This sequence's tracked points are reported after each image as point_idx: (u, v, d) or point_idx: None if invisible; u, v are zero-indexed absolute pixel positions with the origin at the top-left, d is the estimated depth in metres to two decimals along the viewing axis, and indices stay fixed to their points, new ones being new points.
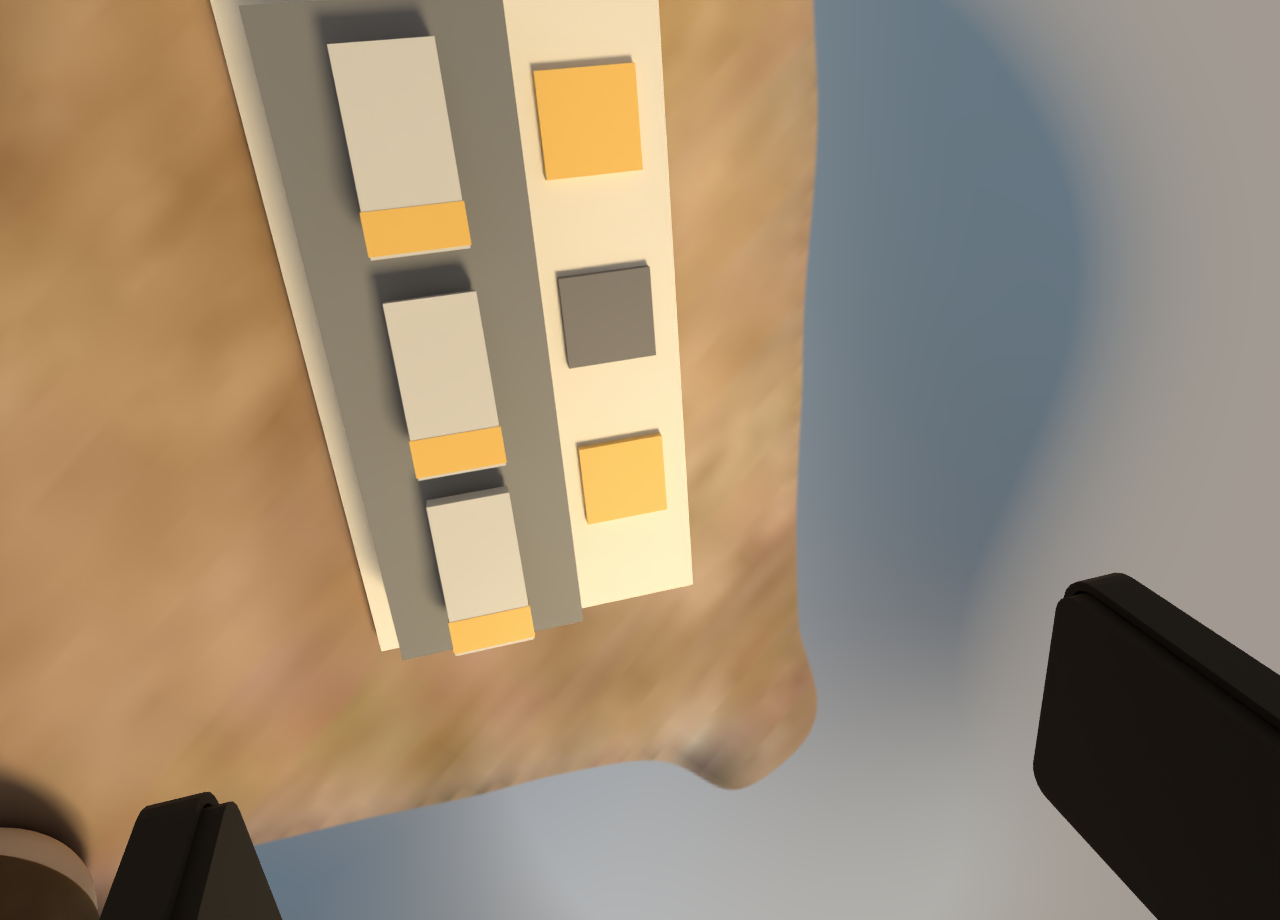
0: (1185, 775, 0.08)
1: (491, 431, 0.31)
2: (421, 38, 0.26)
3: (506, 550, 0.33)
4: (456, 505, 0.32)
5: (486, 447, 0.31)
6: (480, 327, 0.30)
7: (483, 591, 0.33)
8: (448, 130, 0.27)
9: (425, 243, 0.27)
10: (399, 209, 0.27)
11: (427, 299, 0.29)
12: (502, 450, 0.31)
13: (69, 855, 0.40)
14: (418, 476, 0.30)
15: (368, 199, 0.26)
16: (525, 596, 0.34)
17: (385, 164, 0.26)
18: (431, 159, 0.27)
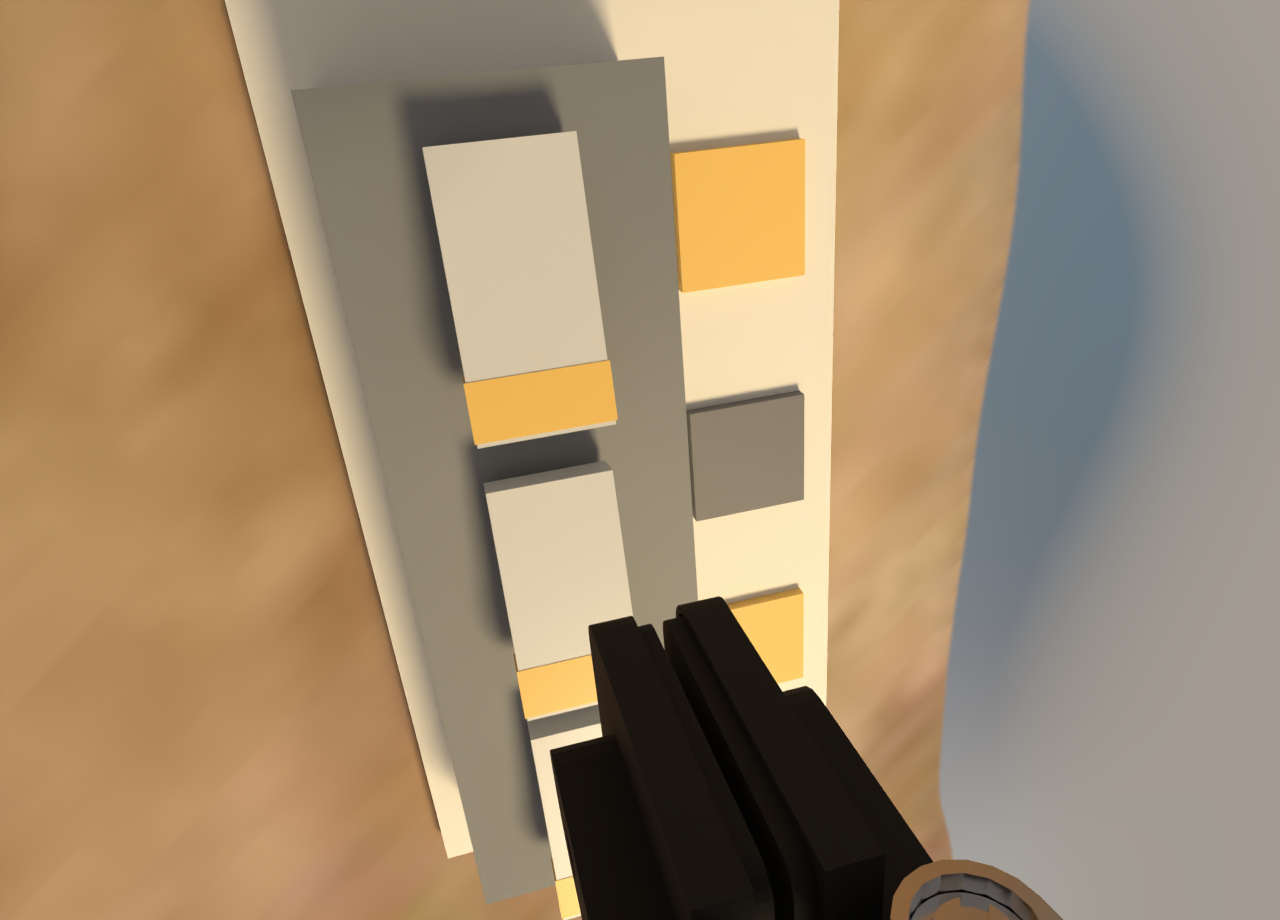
0: None
1: None
2: (558, 135, 0.18)
3: None
4: (570, 734, 0.24)
5: None
6: (616, 517, 0.21)
7: None
8: (591, 263, 0.18)
9: (554, 421, 0.19)
10: (519, 376, 0.19)
11: (546, 484, 0.21)
12: None
13: None
14: (528, 716, 0.22)
15: (476, 364, 0.18)
16: None
17: (501, 315, 0.18)
18: (566, 305, 0.18)
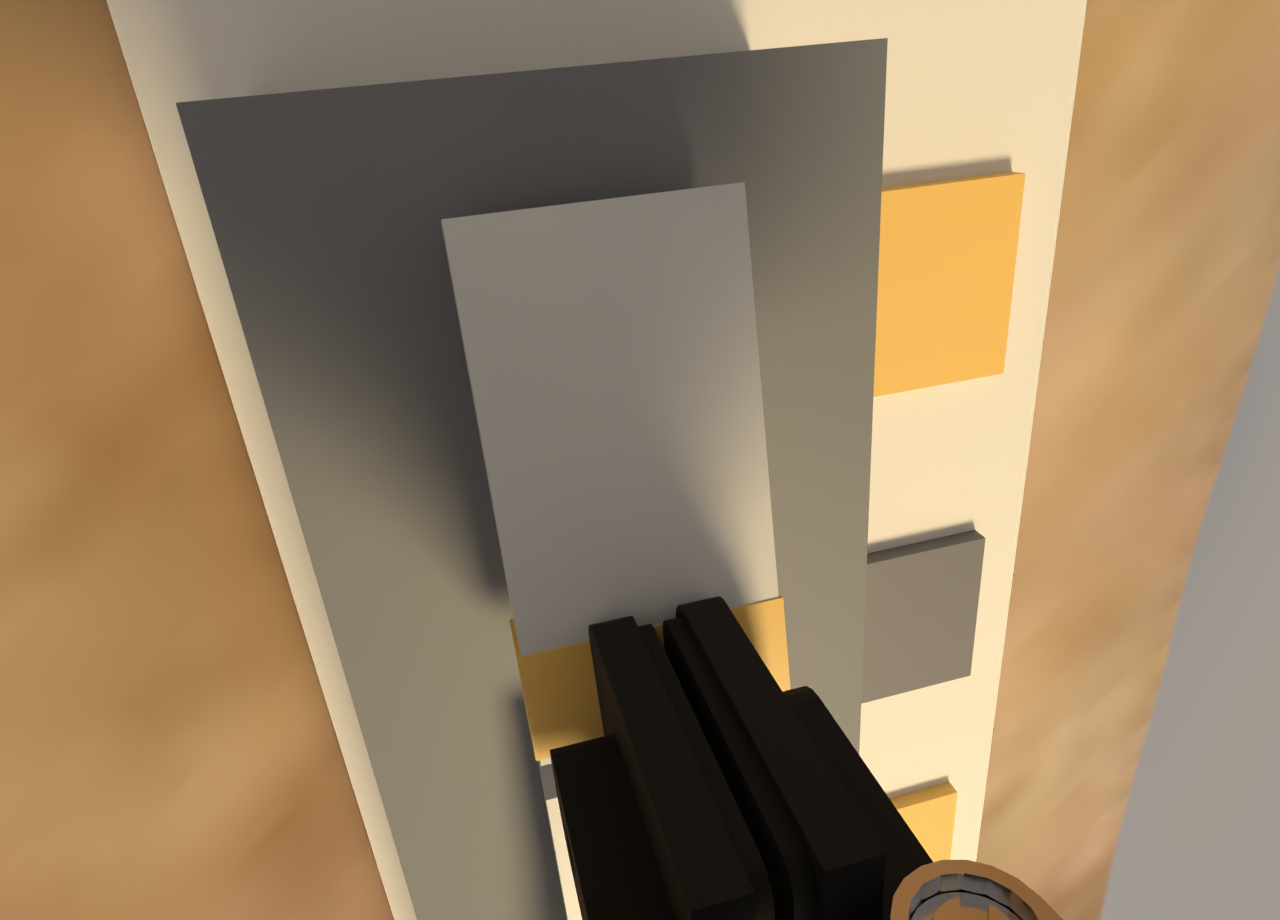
0: None
1: None
2: (710, 190, 0.09)
3: None
4: None
5: None
6: None
7: None
8: (760, 430, 0.10)
9: None
10: None
11: None
12: None
13: None
14: None
15: (541, 622, 0.10)
16: None
17: (589, 532, 0.09)
18: (710, 506, 0.10)
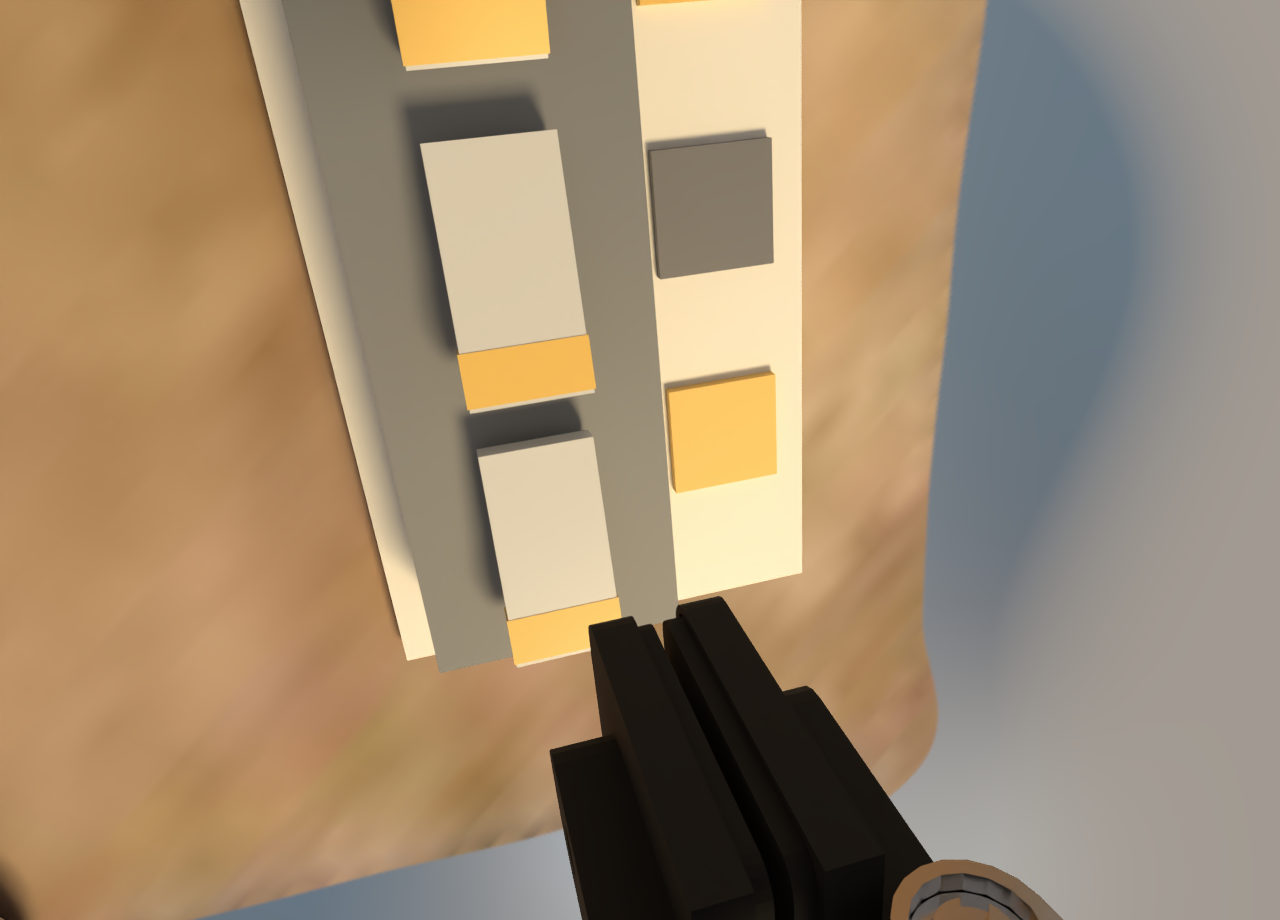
0: None
1: (575, 342, 0.21)
2: None
3: (588, 519, 0.24)
4: (520, 453, 0.23)
5: (568, 365, 0.21)
6: (562, 184, 0.20)
7: (555, 577, 0.24)
8: None
9: (485, 48, 0.19)
10: None
11: (486, 139, 0.20)
12: (590, 370, 0.21)
13: None
14: (470, 407, 0.21)
15: None
16: (612, 584, 0.24)
17: None
18: None
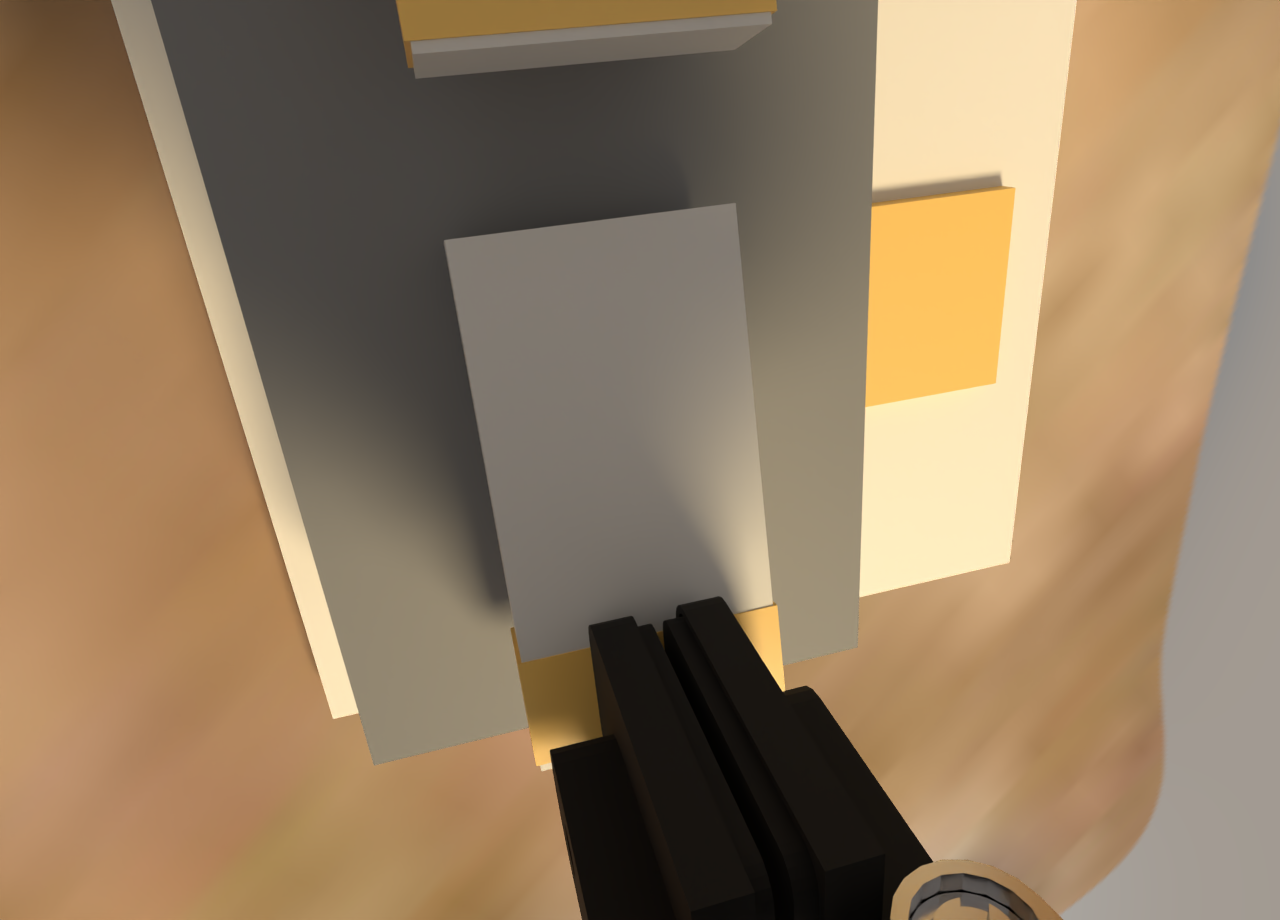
0: None
1: None
2: None
3: (715, 415, 0.10)
4: (553, 237, 0.09)
5: None
6: None
7: (635, 556, 0.10)
8: None
9: None
10: None
11: None
12: None
13: None
14: (413, 29, 0.07)
15: None
16: (766, 574, 0.10)
17: None
18: None
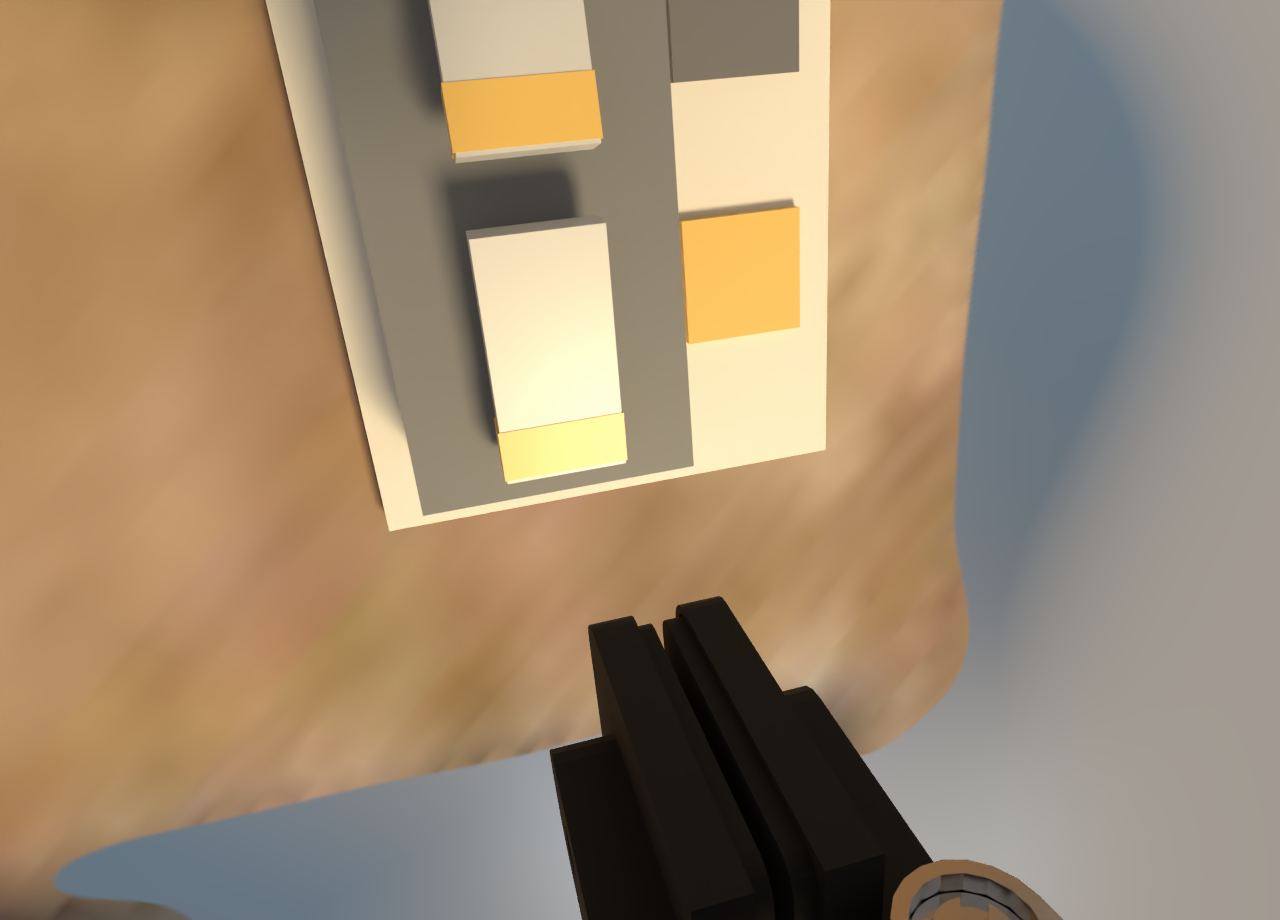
0: None
1: (579, 78, 0.18)
2: None
3: (594, 321, 0.21)
4: (518, 238, 0.19)
5: (570, 106, 0.18)
6: None
7: (554, 386, 0.21)
8: None
9: None
10: None
11: None
12: (596, 114, 0.18)
13: None
14: (456, 148, 0.18)
15: None
16: (618, 397, 0.22)
17: None
18: None
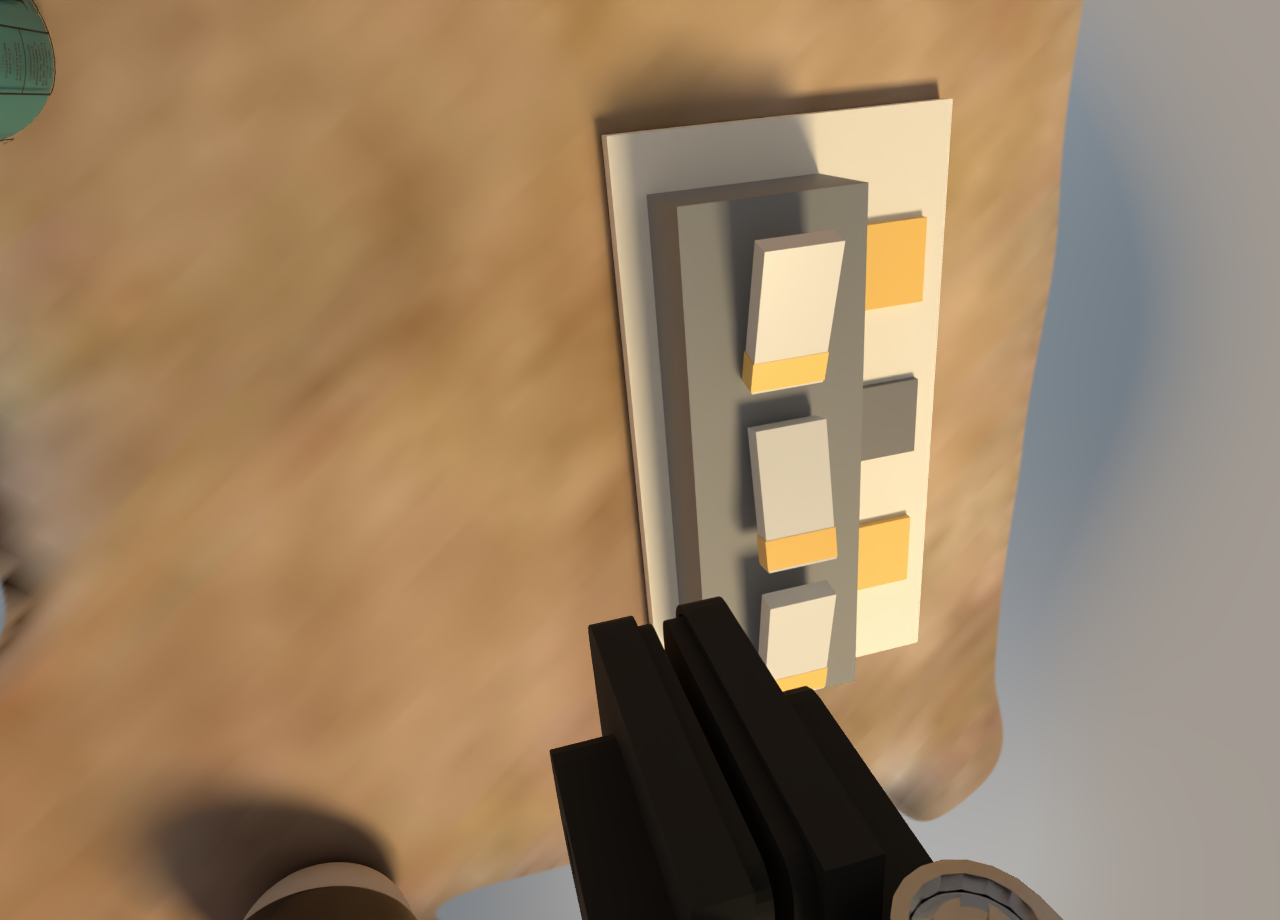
0: None
1: (827, 531, 0.37)
2: (835, 243, 0.31)
3: (821, 632, 0.39)
4: (793, 605, 0.38)
5: (823, 544, 0.37)
6: (827, 447, 0.36)
7: (796, 660, 0.40)
8: (833, 306, 0.33)
9: (792, 381, 0.35)
10: (781, 360, 0.34)
11: (789, 427, 0.35)
12: (835, 546, 0.37)
13: (395, 886, 0.46)
14: (770, 569, 0.36)
15: (762, 355, 0.33)
16: (826, 661, 0.40)
17: (781, 332, 0.33)
18: (814, 326, 0.33)
